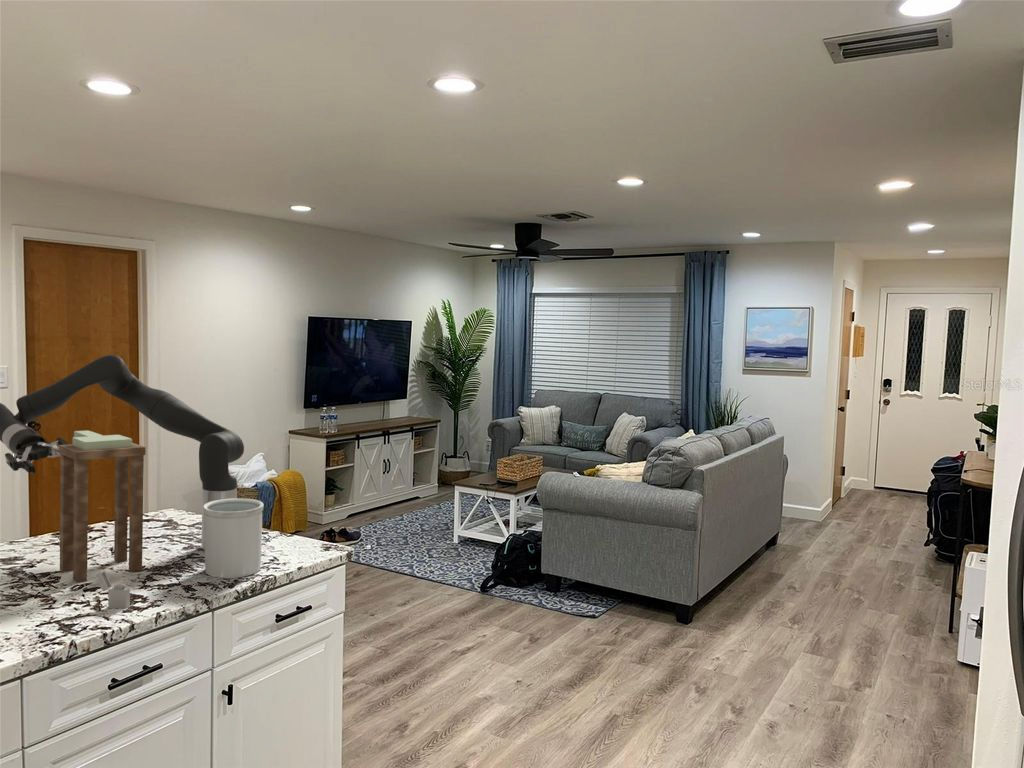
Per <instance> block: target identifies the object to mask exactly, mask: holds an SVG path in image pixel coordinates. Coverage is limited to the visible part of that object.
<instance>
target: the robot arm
mask: <svg viewBox="0 0 1024 768" xmlns="http://www.w3.org/2000/svg"><path fill="white" fill-rule="evenodd" d="M96 384H98V385H99V387H100V388H101V389H102V390H103V391H104V392H105V393H107V394H109V395H112V396H113V397H116V398H117V399H119V400H121V401H123V402H124V403H125V402H126V403H127V404H129V405H131V406H132V407H133V408H134V409H135V410H136V411H138V412H139V413H140V414H142V415H143V416H144V417H146V418H148V420H150V421H152V422H153V423H155V424H156V425H158V427H161V428H162V429H164V430H166V431H168V432H170V433H174V434H176V435H179V436H182V437H186V438H190V439H192V440H194V441H197V442H198V443H200V444H199V448H198V466H199V467H198V469H199V470H198V471H199V479H200V481H201V483H202V484H201V486H202V487H201V489H202V491H201V493H202V494H201V495H202V496H201V498H202V499H201V539H200V540H201V546H200V547H201V550H203V551H205V548H204V512H203V506H204V505H205V504H206V503H208V502H211V501H216V500H222V499H233V498H237V497H238V495H237V494H238V493H237V492H238V490H237V489H238V478H237V477H236V476H233V475H231V474H230V471H229V470H230V469H229V464H231V463H233V462H236V461H238V460H239V459H241V457H242V456H243V454H244V452H245V445H244V443H243V440H242V438H241V437H240V436H239V434H237V433H236V432H234V431H232V430H231V429H228V428H226V427H224V426H222V425H220V424H218V423H217V422H214V421H212V420H210V419H209V418H207V417H206V416H204V415H203V414H202V413H200V412H198V411H197V410H196V409H194V408H192V407H190V406H189V405H188V404H186V403H185V402H184V401H182V400H180V399H179V398H177V397H176V396H174V395H173V394H171V393H169V392H167V391H165V390H162V389H157V388H153V387H150V386H148V385H146V384H145V383H144V382H143V381H141V380H140V379H138V378H137V377H136V376H135V375H134V374H133V373H132V371H131V370H130V368H129V367H128V366H127V364H126V363H125V361H124V360H123V358H121V357H120V356H119V355H116V354H106V355H103V356H101V357H99V358H96V359H95V360H93V361H90V362H89V363H88V364H86V365H85V366H83V367H81V368H79V369H77V370H75V371H74V372H72V373H70V374H68V375H66V376H65V377H63V378H61V379H60V380H58V381H56V382H54V383H52V384H50V385H48V386H46V387H43V388H41V389H37V390H35V391H32V392H30V393H28V394H26V395H22V396H20V397H18V399H17V400H16V407H17V410H18V412H17V413H16V414H15V415H14V413H13V412H12V411H11V410H10V409H9V408H8V407H7V406H6V405H5V404H3V403H2V402H0V442H1V443H3V444H4V445H5V447H6V448H7V450H9V451H10V452H12V454H11V453H10V452H7V453H5V454H4V457H5V461H6V464H7V465H8V467H10V468H11V470H12V471H15V472H17V471H19V469H22V470H25V471H26V472H27V473H31V474H35V473H36V467H35V465H34V464H33V462H35V461H39V460H41V459H45V458H56V457H57V458H58V457H60V456H61V454H60V453H59V445H67V444H70V443H69V442H68V441H66V440H64V439H63V438H61V437H57V438H55V439H56V440H55V441H52V442H50V441H46V439H45V438H44V437H43V436H42V435H40V434H39V433H38V432H37V431H36V430H34V429H33V428H32V427H30V426H28V425H27V424H29V423H31V421H33V420H35V419H38V418H40V417H42V416H45V415H47V414H49V413H52V412H54V411H56V410H58V409H60V408H61V407H63V405H64V404H66V403H67V402H68V401H69V400H70V399H72V397H74V396H75V395H76V394H77V393H79V392H80V391H82V390H83V389H86V388H87V387H90V386H93V385H96ZM17 459H18V460H19V461H18V460H17Z"/></svg>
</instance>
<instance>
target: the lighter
mask: <svg viewBox="0 0 1024 768" xmlns="http://www.w3.org/2000/svg"><path fill="white" fill-rule="evenodd" d="M95 577H96V580H97V582H98V584H99V586H100V588H101V591H102V592H105V591H107V590H108V592H107V593H108V596H107V599H108V601H107V602H108V603H107V605H108V607H107V608H108V609H118V610H119V609H121V610H126V609H128V608H130V607H131V600H130V599H131V588H130V587H126V585H125V584H124V583H118V582H117V583H115V584H114V585H112V582H111V581H110V579H109V577H108V574H107V573H106V570H102V571H99V572H98V573H96V574H95Z"/></svg>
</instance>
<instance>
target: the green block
mask: <svg viewBox="0 0 1024 768" xmlns="http://www.w3.org/2000/svg"><path fill="white" fill-rule="evenodd" d="M132 443H133V438H131V437H128V436H125V435H124V436H123V435H121V434H109V435H108V434H106V435H103V434H101V433H98V432H94V431H92V430H88V429H87V430H74V432H73V437H72V444H73V446H75V447H78V448H80V449H83V450H96V449H110V448H123V447H132Z"/></svg>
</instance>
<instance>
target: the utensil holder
mask: <svg viewBox="0 0 1024 768" xmlns="http://www.w3.org/2000/svg"><path fill="white" fill-rule="evenodd" d="M264 505H265V504H264V503H263V502H262V501H261V500H258V499H253V498H233V499H222V500H216V501H211V502H208V503H206V504H205V505H204V506H203V512H204V548H205V550H204V570H205V572H204V573H205V574H206V575H207V574H208V576H209V575H210V577H212V576H213V577H212V578H216V577H218V579H237V578H239V579H240V578H242V577H248V576H251V575H255V574H256V573H258V572H259V571H261V566H262V564H261V563H262V546H263V545H262V540H263V539H262V537H263V536H262V535H263V533H262V532H263V511H264V507H265V506H264Z"/></svg>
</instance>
